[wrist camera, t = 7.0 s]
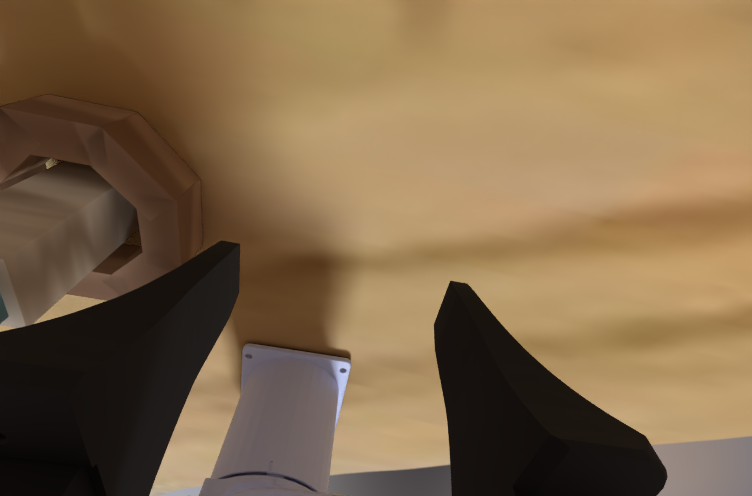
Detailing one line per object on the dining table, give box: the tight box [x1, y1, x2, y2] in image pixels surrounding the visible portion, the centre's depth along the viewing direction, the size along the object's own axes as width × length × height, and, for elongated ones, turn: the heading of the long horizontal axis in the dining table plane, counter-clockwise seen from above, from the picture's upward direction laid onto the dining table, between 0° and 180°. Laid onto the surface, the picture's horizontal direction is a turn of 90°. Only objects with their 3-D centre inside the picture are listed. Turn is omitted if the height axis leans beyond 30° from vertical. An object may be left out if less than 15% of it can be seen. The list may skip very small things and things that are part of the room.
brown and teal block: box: [0, 161, 139, 328], centre depth 18 cm, size 4×4×10 cm
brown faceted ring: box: [0, 94, 203, 301], centre depth 21 cm, size 10×10×3 cm
